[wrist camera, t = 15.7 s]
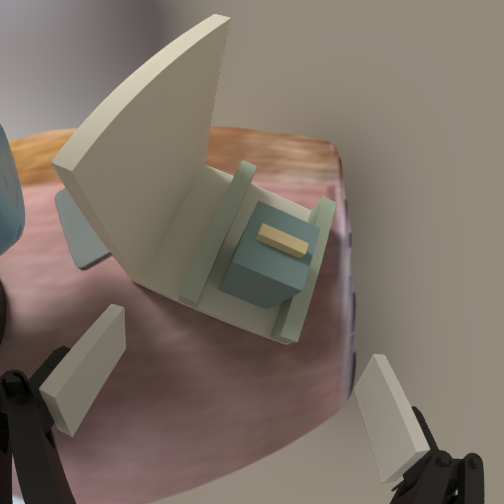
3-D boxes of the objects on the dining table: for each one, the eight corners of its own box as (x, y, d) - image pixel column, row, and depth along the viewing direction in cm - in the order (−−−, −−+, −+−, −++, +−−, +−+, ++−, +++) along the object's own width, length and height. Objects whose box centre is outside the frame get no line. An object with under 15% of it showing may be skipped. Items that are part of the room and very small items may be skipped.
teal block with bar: (218, 289, 32) (235, 256, 21) (236, 244, 34) (261, 193, 23) (266, 309, 32) (308, 287, 21) (282, 264, 35) (326, 223, 23)
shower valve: (179, 198, 31) (63, 259, 26) (179, 219, 36) (79, 272, 31) (140, 128, 33) (41, 178, 28) (144, 153, 38) (55, 198, 33)
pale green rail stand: (131, 280, 31) (47, 161, 10) (193, 166, 38) (212, 13, 17) (284, 344, 33) (435, 326, 11) (321, 222, 40) (428, 112, 18)
